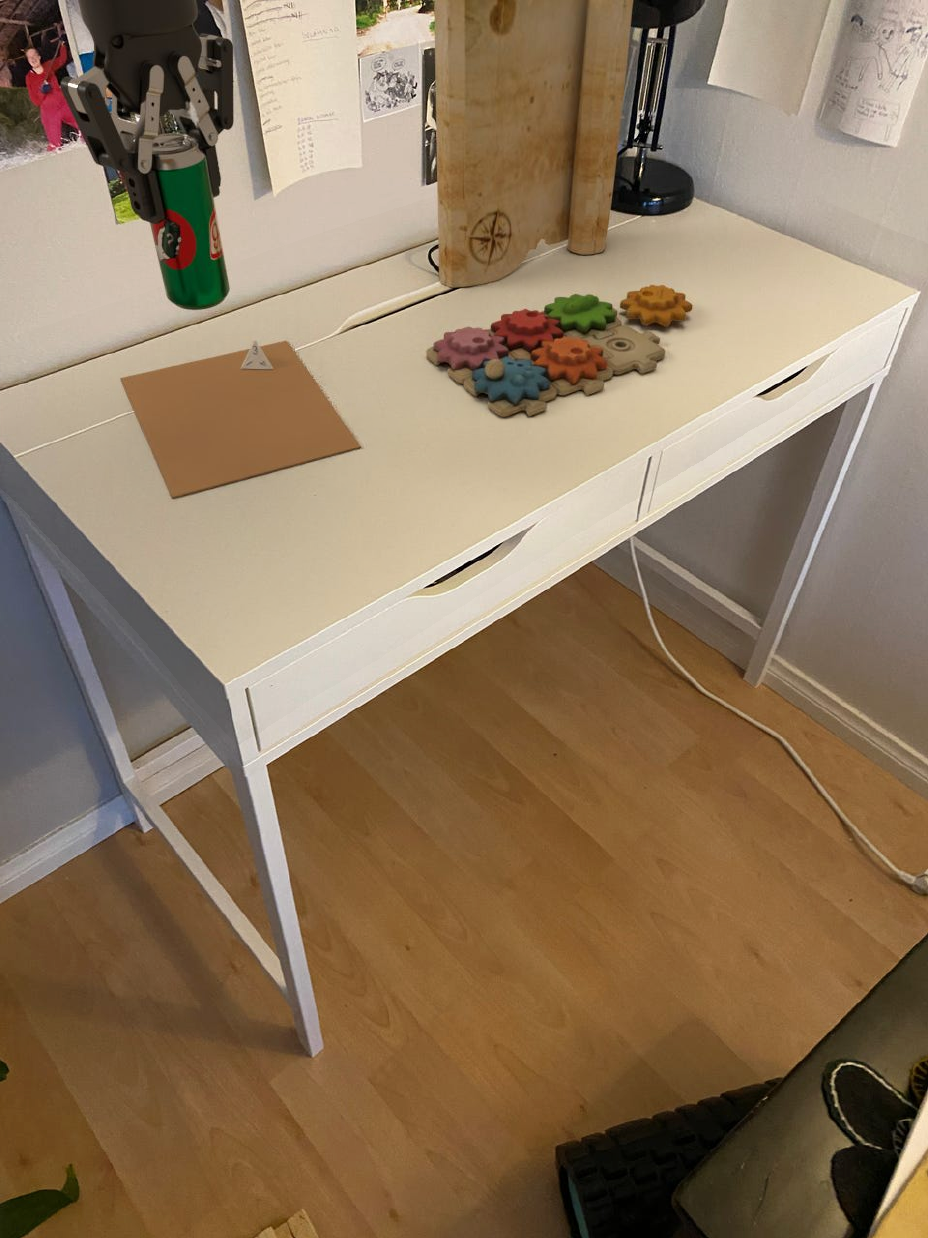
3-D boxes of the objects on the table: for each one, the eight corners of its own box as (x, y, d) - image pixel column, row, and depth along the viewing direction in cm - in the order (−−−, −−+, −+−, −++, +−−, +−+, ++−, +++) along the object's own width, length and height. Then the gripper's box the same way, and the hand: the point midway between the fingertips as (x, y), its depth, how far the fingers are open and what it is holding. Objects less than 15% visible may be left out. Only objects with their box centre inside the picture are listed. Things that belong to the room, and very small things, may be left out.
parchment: (449, 292, 113) (447, -5, 91) (427, 270, 117) (420, -19, 95) (616, 253, 120) (650, -29, 99) (590, 234, 124) (617, -42, 103)
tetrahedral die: (261, 383, 100) (264, 362, 97) (240, 368, 100) (243, 346, 98) (282, 368, 102) (286, 347, 99) (262, 354, 102) (265, 332, 100)
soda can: (236, 306, 77) (209, 150, 69) (173, 317, 76) (137, 159, 67) (224, 279, 80) (196, 127, 72) (163, 289, 79) (127, 135, 71)
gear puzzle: (641, 283, 114) (645, 250, 112) (737, 340, 105) (745, 305, 102) (419, 356, 102) (418, 320, 99) (505, 427, 93) (507, 391, 90)
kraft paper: (172, 498, 85) (171, 497, 85) (120, 379, 99) (120, 377, 99) (360, 447, 90) (360, 446, 90) (286, 341, 104) (286, 340, 104)
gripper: (167, -86, 66) (212, 168, 79) (-8, -50, 58) (72, 228, 70) (247, -73, 63) (280, 188, 76) (74, -33, 55) (143, 254, 67)
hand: (180, 206), depth 73 cm, fingers closed on soda can, 5 cm apart
